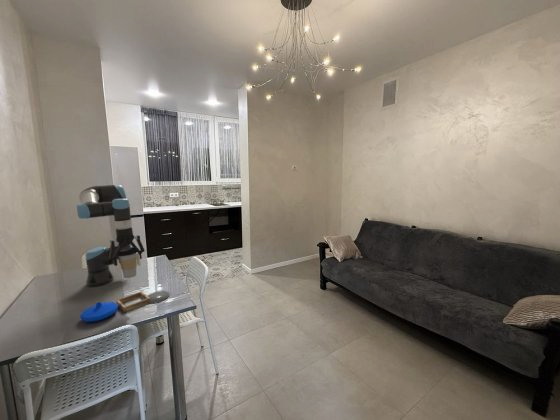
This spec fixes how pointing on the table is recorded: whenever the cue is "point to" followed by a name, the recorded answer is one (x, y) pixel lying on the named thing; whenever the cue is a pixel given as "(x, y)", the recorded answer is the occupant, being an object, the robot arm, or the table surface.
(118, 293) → the table surface
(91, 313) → the blue spouted lid
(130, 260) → the coffee cup
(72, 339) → the table surface
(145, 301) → the wooden square frame
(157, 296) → the grey round plate
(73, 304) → the table surface
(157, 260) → the table surface
